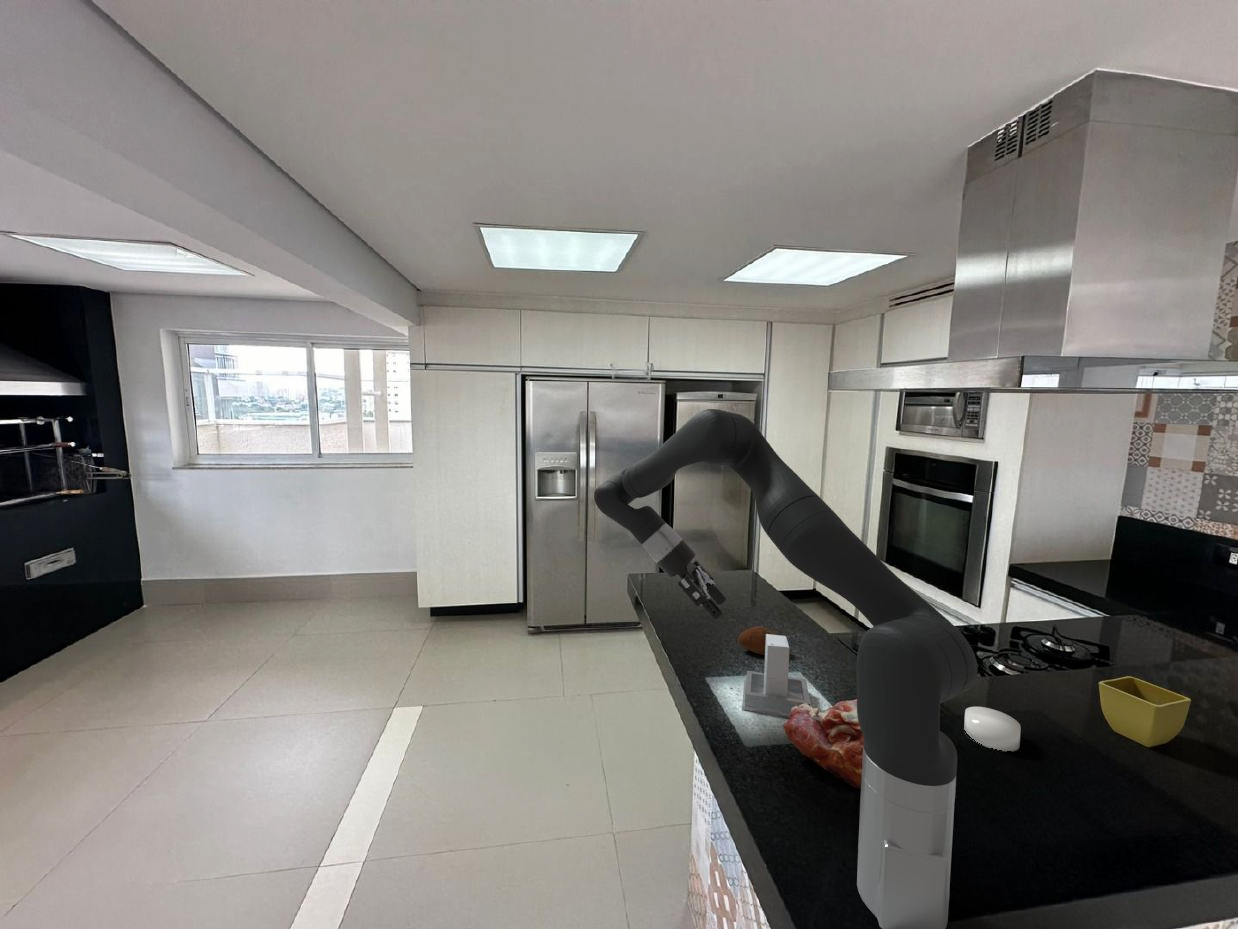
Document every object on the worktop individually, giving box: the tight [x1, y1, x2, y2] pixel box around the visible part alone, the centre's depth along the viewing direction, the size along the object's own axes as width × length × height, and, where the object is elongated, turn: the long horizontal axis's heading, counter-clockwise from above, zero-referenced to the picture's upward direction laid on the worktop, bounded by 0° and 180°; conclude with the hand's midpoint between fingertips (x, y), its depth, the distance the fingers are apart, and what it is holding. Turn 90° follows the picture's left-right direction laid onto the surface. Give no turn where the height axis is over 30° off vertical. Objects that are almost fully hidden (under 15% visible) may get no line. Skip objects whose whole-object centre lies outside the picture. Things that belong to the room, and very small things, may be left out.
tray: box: [741, 670, 812, 718], centre depth 101 cm, size 11×13×3 cm
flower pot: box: [1098, 675, 1192, 748], centre depth 89 cm, size 9×9×9 cm
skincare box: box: [763, 634, 790, 698], centre depth 100 cm, size 6×4×12 cm
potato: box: [737, 626, 782, 656], centre depth 122 cm, size 6×12×6 cm, turn 87°
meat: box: [782, 698, 863, 790], centre depth 85 cm, size 21×21×10 cm
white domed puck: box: [963, 706, 1022, 752], centre depth 89 cm, size 8×8×4 cm
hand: (721, 608), depth 103 cm, fingers open, 8 cm apart
